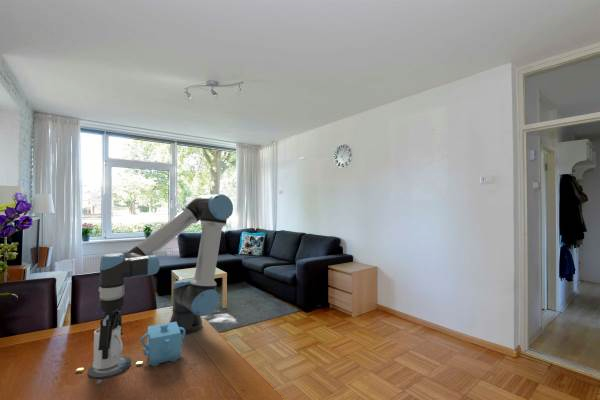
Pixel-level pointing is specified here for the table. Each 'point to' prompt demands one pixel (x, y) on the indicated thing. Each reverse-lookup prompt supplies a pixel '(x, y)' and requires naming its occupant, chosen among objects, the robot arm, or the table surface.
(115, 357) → the mug
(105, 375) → the socket pad
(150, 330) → the teapot
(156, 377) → the table surface
